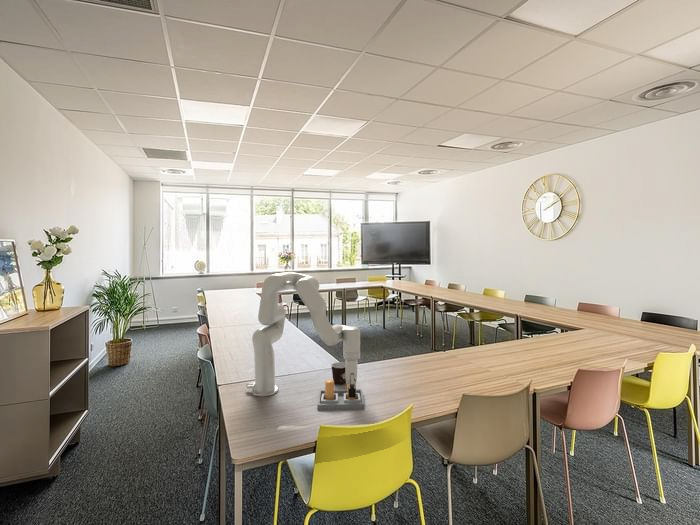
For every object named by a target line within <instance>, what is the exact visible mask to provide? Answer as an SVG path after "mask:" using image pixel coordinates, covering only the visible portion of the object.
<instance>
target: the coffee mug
mask: <svg viewBox="0 0 700 525" xmlns="http://www.w3.org/2000/svg"><path fill="white" fill-rule="evenodd" d="M345 363H346V362H343V361H342V362H341V361H336V362H333V363H331V365H330V366H331V373H332V380H333V381H334V385H337V386H343V385H346V384H347V382H346V375H345Z"/></svg>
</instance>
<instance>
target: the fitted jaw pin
mask: <svg viewBox="0 0 700 525" xmlns="http://www.w3.org/2000/svg"><path fill="white" fill-rule="evenodd" d="M324 390H325V400H334V390H335V384H334V381H333V379H327V380H325V382H324Z"/></svg>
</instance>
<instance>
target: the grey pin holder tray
mask: <svg viewBox="0 0 700 525" xmlns="http://www.w3.org/2000/svg"><path fill="white" fill-rule="evenodd" d="M318 392H319V393H318V399H317V405H316V406H317V407H316V408H317V410H319V411H320V410H362V409H363V410H364V409H365V401H364V395H363V389H356V399H347V389H334V400H325V389H319V391H318Z"/></svg>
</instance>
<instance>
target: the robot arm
mask: <svg viewBox="0 0 700 525" xmlns="http://www.w3.org/2000/svg"><path fill="white" fill-rule="evenodd" d="M319 288H320V282H319V280H318V279H317V278H316V277H313V276H312V275H311V276H310V275H307V274H302V273H298V272H295V271H287V272H286V271H284V272H280V273H274V274H271V275H269V276H267V277H265V279H264V281H263V282H262V286H261V296H260V302H259V309H258V313H257V314H258V316H257V319H258V322H259V323H260V324H261V325H262V326H261V327H259V328H258V329H256V330H255V331H254V332H253V333H252V334H253V335H252V337H251V338H252V339H251V341H252V346H253V356H254V357H253V360H254V381H252V382H246V384H245V387H246V388H247V389H251V394H252V395H253V396H255V397H264V398H265V397H269V396H270V397H271V396H273V395H275V394H276V393H278V391H279V387H278V386H277V385H276V371H275V370H276V366H275V365H276V364H275V362H276V361H275V360H276V359H275V350H274V347H273V344H274V343H277V342H278V341H280V340H281V338H282V337H283V335H284V328H285V323H286V322H285V320H286V309H285V307H284V305H282V303H279V300H280V294H279V292H283V291H288V290H295V292H296V293H297V295H298V296H299V298H300V300H301V301H302V303H303V304H304V306H305V307H306V309H307V310H308V312H309V314H310V318H311V321H312V324H313V328H314V330H315V331H316V333H317V335H318V337H319V338H320V339H321V341H322V342H323V343H325V344H326V345H327V346H328V347H330V346H331V347H332V346H333V347H334V346H336V345H337V344H338V343H340V342H342V343H343V345H342V346H343V347H342V348H343V351H342V353H343V356H342V357H343V359H344V360H345V362H344V363H345V375H346V383H347V382H349V388H348V395H349V398H355V397H356V390H357V387H356V388H355V382H356V383H357V381H358V360H360V359H361V330H360V328H359V327H357V326H354V325H353V326H352V325H351V326H350V325H349V326H347V325H343V324H340V323H339V324H334V325H332V324H331V323H330V321H329V319H328V317H327V301H326V300H325V299H324V297H323V296H322V294H321V293H320V291H319V290H320V289H319ZM350 380H351V381H350ZM350 383H351V384H350Z"/></svg>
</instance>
